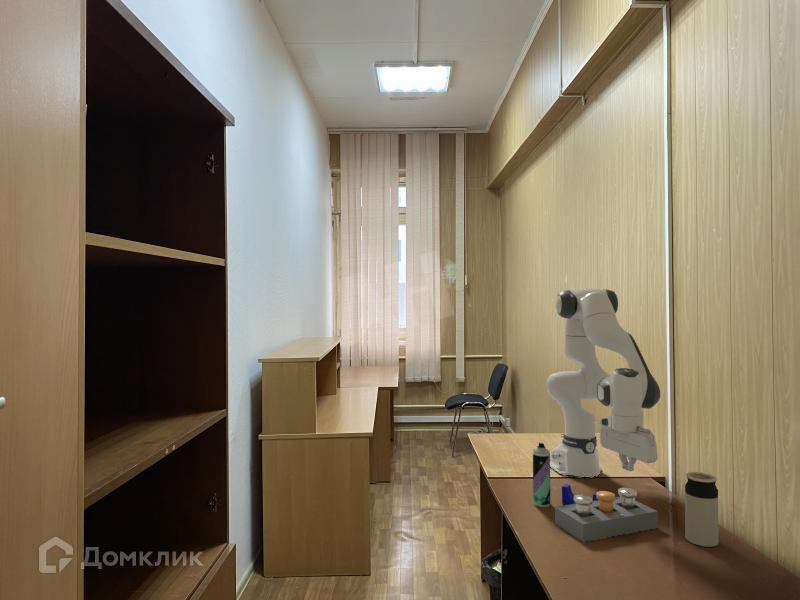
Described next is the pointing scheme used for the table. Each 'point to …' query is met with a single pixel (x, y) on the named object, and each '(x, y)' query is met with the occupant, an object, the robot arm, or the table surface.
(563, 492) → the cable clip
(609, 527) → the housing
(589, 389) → the robot arm
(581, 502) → the near knob
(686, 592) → the table surface
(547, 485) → the spray can
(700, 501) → the travel mug
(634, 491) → the far knob
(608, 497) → the orange knob
